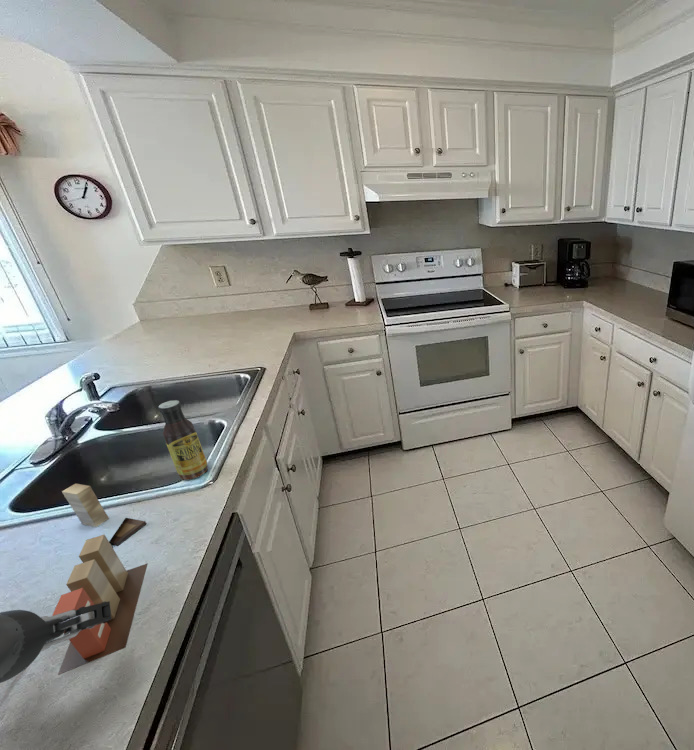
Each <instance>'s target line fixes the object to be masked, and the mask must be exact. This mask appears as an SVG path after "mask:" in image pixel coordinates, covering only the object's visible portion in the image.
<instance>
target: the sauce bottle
mask: <svg viewBox="0 0 694 750" xmlns="http://www.w3.org/2000/svg"><path fill="white" fill-rule="evenodd" d="M158 411H159V413H160V414H161V415H162V418H163V422H164V427H163V431H162V435H163V438H164V440H165V445H166V447H167V449H168V452H169V455H170V457H171V460H172V463H173V465H174V468H175V469H176V473H177V474H178V476H179V478H180V479H181V480H182V481H183V480H184V481H189V480H194V479H198V478H200V477H202V476H203V475H204V474H205V473H207V472H208V470H207V469H209V467H208V460H207V458H206V455H205V453H204V450H203V447H202V443H201V442H200V439H199V435H198V433H197V431H196V428H195V426H194V424H193V422H192V421H191V420H189V419H187V418H185V417H186V416H185V415H184V413H183V409H182V404H181V402H180V400H177V399H175V400H167V401H165V402H162V403H160V404H159V405H158Z"/></svg>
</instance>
